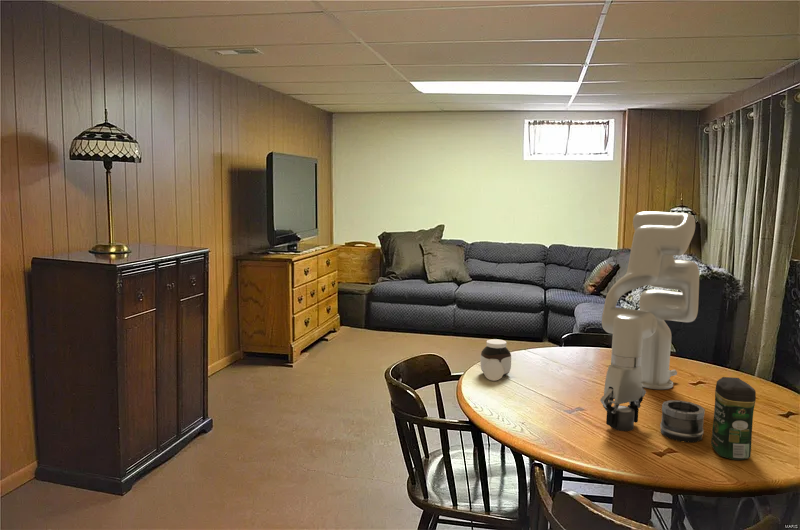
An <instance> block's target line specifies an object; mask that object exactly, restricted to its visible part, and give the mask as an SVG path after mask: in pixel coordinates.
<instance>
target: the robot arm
mask: <svg viewBox="0 0 800 530" xmlns="http://www.w3.org/2000/svg"><path fill="white" fill-rule="evenodd" d="M632 219H633V220H632V226H633V229H634V233H633V236H632V243H631V246H630V247H631V248H630V252H629V258H628V259H629V260H628V265H627V271H626V273H625V274H624V275H623V276H622V277H620V278H619V279H618V280H617V281H615V282H614V283H613V285H612V286H611V287H610V289H608V292H607V293H606V297H605V299H604V305H603V310H602V316H601V327H602V328H603V331H605V333H608V334H612V338H611V339H612V341H611V357H610V358H611V359H610V364H609V365H608V368H607V371H606V375H605V381H604V389H603V395H602V397H601V398H600V400H599V401H600V403H601V404H602V407H603V408H604V410H605V412H606V418H605V419H606V420H605V421H606V422H605V423H606V425H607V426H609V427H610V428H612V427H613V428H616V427H617V417H618V414H617V413H616V411H617V409H618V407H619V405H622V404H627V403H629V404H628V405H627V407H630V408H632V409H634V411H635V413H634V424H635V423H638V421H639V409H640V408H641V404H642V403H643V400H644V397H645V395H646V393H647V390H646V389H650V390H669V389H672V388H673V387H674V382H673V380H671V377H673V376H677V375H678V371H677V370H676V369H671V370H670V361H671V348H672V347H671V346H672V331H671V329H670V327H669V326H668V323H666V321H673V322H681V323H692V322H694V321H696V318H697V317H698V313H699V296H700V295H699V294H700V269H699V266H698V265H697V263H695V262H694V261H692V260H687V259H675V257H674V256H677V257H680V256H682V255H684V254H685V253H686V252H687V251H688V248H689V246H690V244H691V241H692V239H693V237H694V234H695V230H696V220H695V217H694V216H693V215H692V214H691V213H688V212H677V211H676V212H675V211H674V212H673V211H655V210H654V211H647V210H646V211H640V212H637V213H635V214H634V216H633V218H632ZM644 286H649V287H651V288H653V289H648V290H647V289H646V290H645V291H643V292H642V293H641V295H640V296H639V301H638V302H639V303H638V304H639V310H638V309H632V308H623V307H617V304H618V301H619V299H620V298H621V297H622V296H623V295H625V294H627V293H628V292H630V291H633V290H636V289H638V288H641V287H644ZM655 288H657V289H655ZM644 388H645V389H644ZM612 405H613V407H612ZM613 428H612V429H613Z"/></svg>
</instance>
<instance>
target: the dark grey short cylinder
mask: <svg viewBox="0 0 800 530" xmlns="http://www.w3.org/2000/svg"><path fill="white" fill-rule="evenodd" d="M611 406H612V405H611ZM613 406H614V405H613ZM613 406H612V407H613ZM616 413H617V414H618V417H617V427H616V428H613V427H611V428H612V429H613V430H616V431H620V432H631V431H633V430H634V424H635V422H634V413H635V411H634V409H632V408H630V407H628V405H621V404H619V407H618V409H617V411H616Z"/></svg>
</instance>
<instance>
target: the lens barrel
mask: <svg viewBox="0 0 800 530" xmlns="http://www.w3.org/2000/svg"><path fill="white" fill-rule="evenodd" d="M705 410H706V409H705V408H704V407H702V406H701V405H700V404H697V403H694V402H691V401H685V400H680V399H679V400H677V399H675V400H673V399H671V400H666V401H663V402H662V404H661V422H660V425H659V427H660V433H661V434H662V436H664V437H666V438H667V437H668V439H670V440H672V439H673V440H674V441H676V440H677V442H681V441H684V442H683V443H697V441H698V442H700V440H701V441H702V439H703V435H704V431H705V430H704V418H705V414H706V413H705Z"/></svg>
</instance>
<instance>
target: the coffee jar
mask: <svg viewBox="0 0 800 530" xmlns="http://www.w3.org/2000/svg"><path fill="white" fill-rule="evenodd" d="M714 390H715V391H714V392H715V393H714V408H713V409H714V411H713V419H712V420H713V422H712V431H711V439H710V440H711V441H710V445H711V448H713V450H714V451H715V452H716V453H717V454H718V455H719V456H720V457H722V458H726V459H730V460H734V461H742V460H743V461H744V460H748V459H750V458H751V456H752V455H751V454H752V452H751V451H752V439H753V438H752V436H753V423H754V411H755V410H754V409H755V406H756V400H757V399H756V398H757V395H756V394H757V393H756V389H755V388H754V387H752V386H751V385H750V384H749V383H748V382H746V381H744V380H742V379H740V378H739V377H730V376H728V377H727V376H723V377H721V378H719V379H717V381H716V383H715V389H714Z"/></svg>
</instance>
